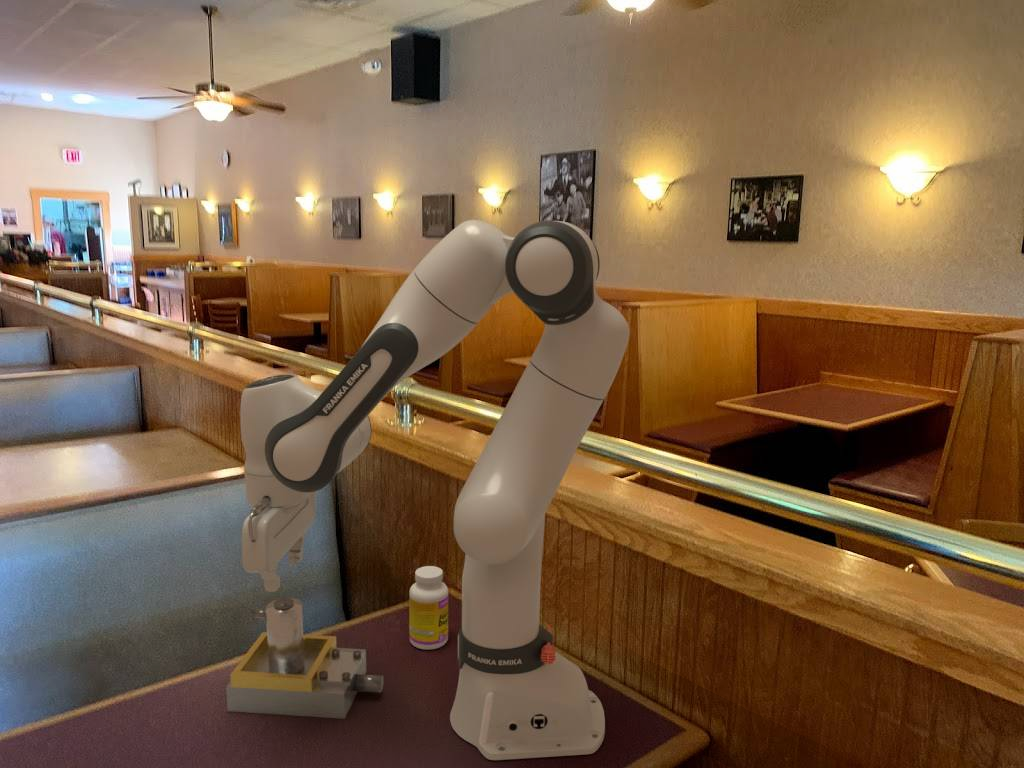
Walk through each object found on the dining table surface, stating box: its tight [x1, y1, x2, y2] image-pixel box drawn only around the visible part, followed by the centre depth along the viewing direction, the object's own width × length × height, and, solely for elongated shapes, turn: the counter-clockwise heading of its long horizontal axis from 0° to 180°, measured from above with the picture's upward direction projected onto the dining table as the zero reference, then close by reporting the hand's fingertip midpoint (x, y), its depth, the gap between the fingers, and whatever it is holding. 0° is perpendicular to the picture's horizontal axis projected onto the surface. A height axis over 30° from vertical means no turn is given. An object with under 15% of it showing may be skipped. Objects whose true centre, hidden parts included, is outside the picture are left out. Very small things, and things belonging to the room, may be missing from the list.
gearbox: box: [225, 631, 384, 720], centre depth 118 cm, size 22×12×6 cm, turn 86°
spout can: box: [251, 597, 304, 674], centre depth 117 cm, size 7×5×11 cm
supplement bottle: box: [408, 565, 449, 650], centre depth 133 cm, size 7×7×13 cm
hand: (284, 575), depth 115 cm, fingers open, 8 cm apart
